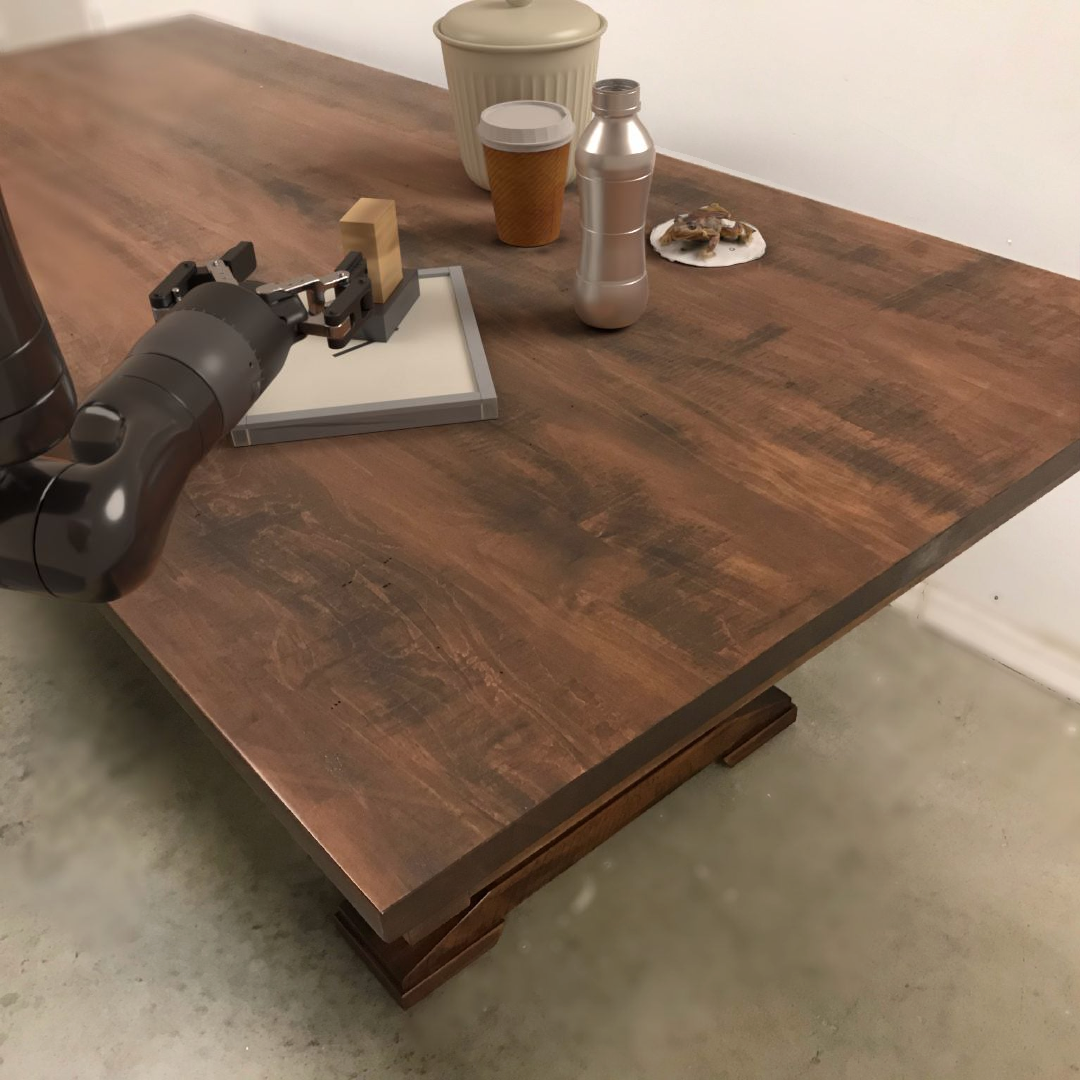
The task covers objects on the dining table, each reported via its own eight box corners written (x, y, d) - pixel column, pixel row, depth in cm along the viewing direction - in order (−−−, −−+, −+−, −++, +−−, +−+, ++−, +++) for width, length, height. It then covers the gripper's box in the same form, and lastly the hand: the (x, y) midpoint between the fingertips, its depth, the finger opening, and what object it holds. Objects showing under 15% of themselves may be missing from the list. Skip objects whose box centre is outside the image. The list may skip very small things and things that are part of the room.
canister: (427, 163, 129) (411, -36, 115) (573, 144, 133) (573, -51, 120) (468, 221, 115) (454, 2, 102) (629, 197, 119) (635, -16, 106)
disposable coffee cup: (558, 259, 107) (557, 134, 100) (468, 247, 110) (460, 125, 102) (587, 221, 114) (588, 103, 107) (501, 211, 117) (496, 95, 109)
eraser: (337, 338, 92) (321, 229, 86) (374, 291, 99) (361, 187, 93) (386, 342, 92) (373, 234, 86) (420, 295, 98) (410, 191, 92)
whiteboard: (234, 447, 82) (229, 425, 81) (246, 304, 101) (242, 285, 100) (498, 418, 85) (496, 397, 84) (462, 284, 103) (460, 265, 102)
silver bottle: (560, 312, 98) (558, 79, 86) (627, 298, 100) (635, 68, 88) (591, 344, 94) (594, 103, 81) (661, 328, 96) (674, 90, 83)
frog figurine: (723, 279, 103) (726, 241, 101) (623, 245, 109) (624, 208, 107) (790, 241, 110) (794, 203, 107) (692, 211, 116) (694, 175, 114)
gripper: (300, 323, 65) (391, 216, 77) (83, 301, 67) (204, 201, 80) (318, 430, 69) (401, 313, 82) (115, 406, 72) (224, 296, 84)
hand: (304, 258), depth 81 cm, fingers open, 8 cm apart
